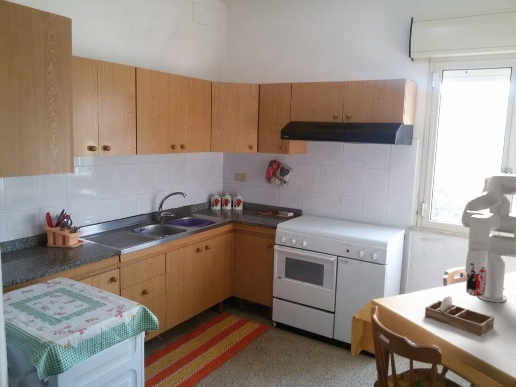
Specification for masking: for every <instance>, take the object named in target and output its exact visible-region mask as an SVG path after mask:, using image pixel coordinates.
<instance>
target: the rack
mask: <svg viewBox="0 0 516 387" xmlns="http://www.w3.org/2000/svg"><path fill="white" fill-rule="evenodd" d="M442 301H443V300H437V301H435V302H433V303H432V304H429V305H428V306H425V310H424V318H427V319H430V320H432V321H436V322H438V323H440V324H444V325H446V324H447V326H449V325H450V327H452V326H453V328H455V329H459V330H461V331H465V332H467V333H470V334H473V335H476V336H479V337H483V335H485V334H487V333H488V332H489V331H490V330H492V329H493V328H494V325H495V317H493V316H492V315H488V314H485V313H481V312H478V311H474V310H473V309H472V310H471V309H469V308H468V309H467V308H465V307H462V306H458V305H455V304H452V308H451V309H449V310H448V311H446V312H444V313H443V312H441V311H440V308H441V303H442Z"/></svg>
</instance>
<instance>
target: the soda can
mask: <svg viewBox="0 0 516 387" xmlns="http://www.w3.org/2000/svg"><path fill="white" fill-rule="evenodd" d="M472 272H473V273H475V271H472ZM471 275H473V277H474V274H471ZM467 278H468V277H467V276H466V284H465V285H466V286H465V291H466V293H467V294H468V295H469V296H473V297H475V298H476V297H477V298H479V297H480V296H482V295H484V293H485V285H486V270H485V267H484V268H483V269H481V271H480V272H479V274H477V276H476V280H475V281H476V290H471V289H468V288H467V283H468V279H467Z"/></svg>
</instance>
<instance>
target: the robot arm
mask: <svg viewBox="0 0 516 387" xmlns="http://www.w3.org/2000/svg"><path fill="white" fill-rule="evenodd" d="M506 195H509V196H516V174H509V173H494V174H493V173H492V174H490V175H488V176H487V177H486V178H485V179H484V186H483V189H482V192H481V194H480V195H478V196H475V197H474V198H472V199H471V200H469V201H467V203H466V204H465V207H464V208H463V209H464V210H463V212H462V216H461V225H462V226H463V227H464V228H467V229H469V230H468V245H467V246H468V248H467V249H468V250H467V256H466V262H465V267H464V268H465V269H464V271H465V272H466V280H467V279H468V283H467V288H468V289H471V290H476V281H475V280H476V276H477V274H479V272H480V271H481V269H483V268H484V267H485V270H486V285H485V293H484V295H482V296H480V297H478V298H479V299H481V300H483V301H486V302H491V303H503V302H506V301H507V296H506V295H505V294H504V290H505V287H504V283H505V272H506V263H505V261H504V259H503V258H502V257H509V258H515V259H516V214H515V213H511V212H510V211H511V210H510V209H511V202H510V200H509V198H508V197H507V196H506ZM484 210H489V211H487V212H486V211H484ZM491 232H494V233H495V232H496V233H500V235H499V234H491ZM501 233H502V234H510V235H513V236H510V235H509V236H508V235H501ZM472 271H475V273H473V272H472ZM471 274H474V277H473V275H471ZM467 277H468V278H467Z"/></svg>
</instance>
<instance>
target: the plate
mask: <svg viewBox="0 0 516 387" xmlns="http://www.w3.org/2000/svg"><path fill="white" fill-rule="evenodd" d="M452 299H453V298H452V297H451V296H450V295H446V296H444V297H443V299H442V300H441V301H442V303H441V308H440V311H441V312H443V313H444V312H446V311H448V310H449V309H451V308H452V305H453V300H452Z"/></svg>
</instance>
